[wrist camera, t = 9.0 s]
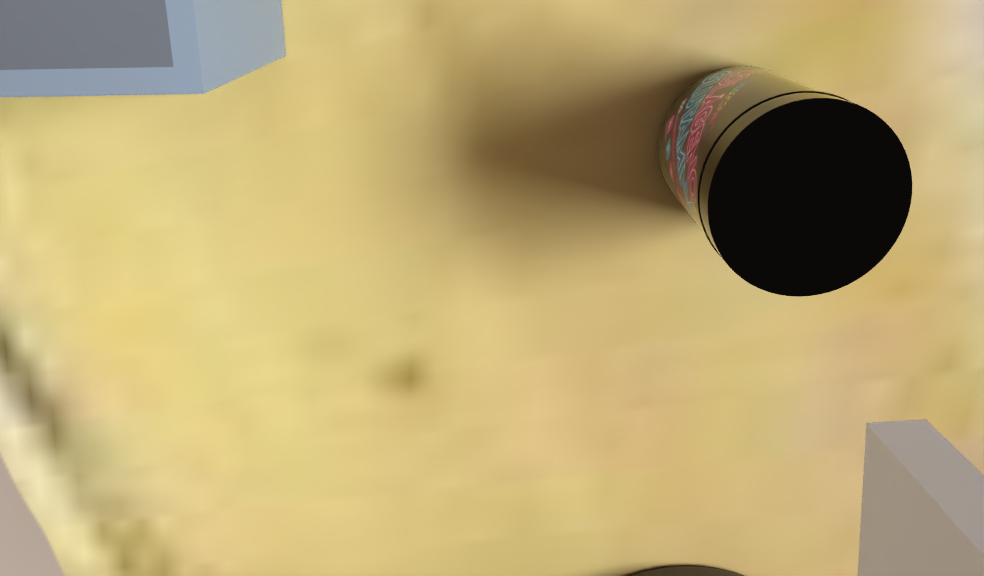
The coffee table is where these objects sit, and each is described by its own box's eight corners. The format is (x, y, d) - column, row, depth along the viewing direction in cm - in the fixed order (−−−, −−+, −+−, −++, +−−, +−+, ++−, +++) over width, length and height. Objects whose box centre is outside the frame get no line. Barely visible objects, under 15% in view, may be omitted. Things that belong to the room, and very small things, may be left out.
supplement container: (773, 32, 39) (867, 57, 29) (835, 171, 41) (943, 238, 31) (627, 112, 40) (672, 161, 31) (695, 244, 42) (757, 330, 32)
